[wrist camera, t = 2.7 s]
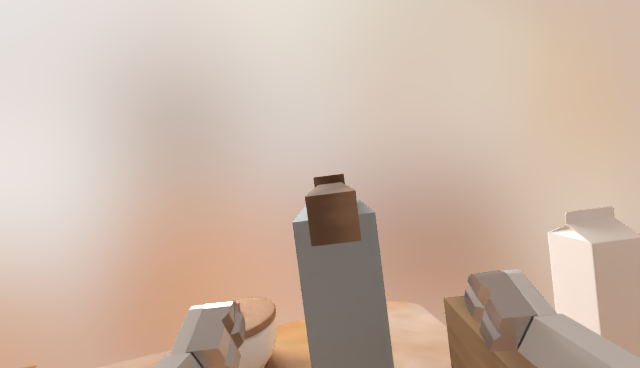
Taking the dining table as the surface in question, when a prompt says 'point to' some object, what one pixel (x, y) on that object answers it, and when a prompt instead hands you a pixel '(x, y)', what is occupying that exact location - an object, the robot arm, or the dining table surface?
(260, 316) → the lidded bowl
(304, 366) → the dining table surface
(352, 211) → the brown long bar
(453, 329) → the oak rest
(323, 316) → the slate block
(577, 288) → the milk
